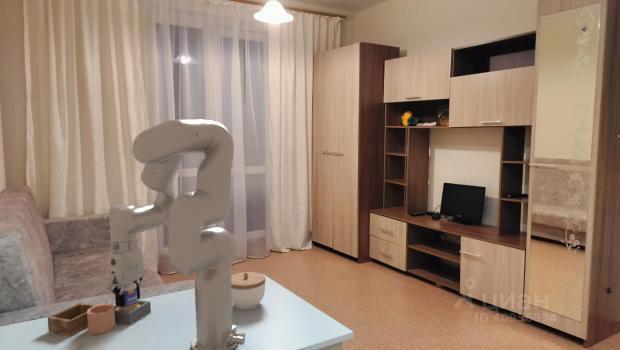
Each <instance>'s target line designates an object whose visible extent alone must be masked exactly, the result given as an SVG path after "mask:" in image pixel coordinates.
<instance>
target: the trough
mask: <svg viewBox="0 0 620 350" xmlns="http://www.w3.org/2000/svg"><path fill="white" fill-rule="evenodd" d="M96 305H97V304H96ZM96 305H95V304H91V303H90V304H89V303H84V302H78V303H76V304H74V305H72V306H70V307H68V308H66V309H64V310H61V311H59V312H57V313H55V314H53V315H50V316H48V317H47V326H48V327H47V329H48V332H49V333H52V334H57V335H62V336H67V337H72V336H74V335H76V334H78V333H80V332H82V331H84V330H85V329H86V330H87V329H88V320H87V310H88V309H89V308H91V307H94V306H96Z"/></svg>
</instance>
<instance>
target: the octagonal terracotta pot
mask: <svg viewBox="0 0 620 350" xmlns="http://www.w3.org/2000/svg"><path fill="white" fill-rule="evenodd" d="M114 305H115V304H111V303H102V304H96V306H94V307H91V308H89V309H88V310H87V320H88V328H87V331H88V333H89V334H90V335H102V334H106V333H109V332H111V331H113V330H115V328H116V322H115V311H114Z"/></svg>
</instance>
